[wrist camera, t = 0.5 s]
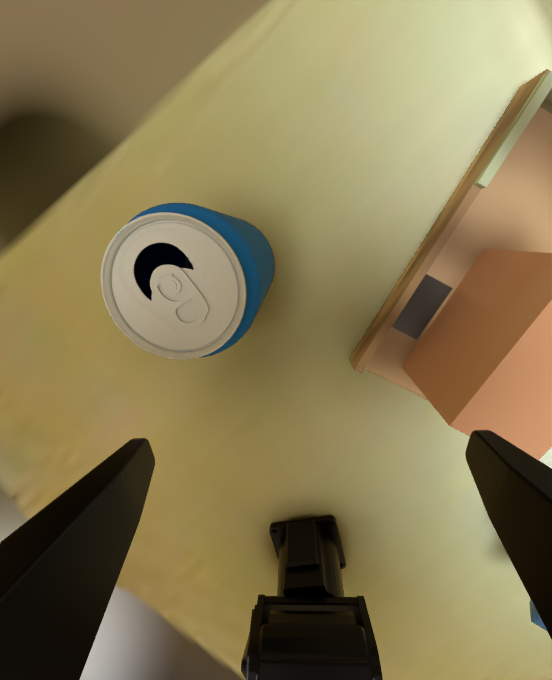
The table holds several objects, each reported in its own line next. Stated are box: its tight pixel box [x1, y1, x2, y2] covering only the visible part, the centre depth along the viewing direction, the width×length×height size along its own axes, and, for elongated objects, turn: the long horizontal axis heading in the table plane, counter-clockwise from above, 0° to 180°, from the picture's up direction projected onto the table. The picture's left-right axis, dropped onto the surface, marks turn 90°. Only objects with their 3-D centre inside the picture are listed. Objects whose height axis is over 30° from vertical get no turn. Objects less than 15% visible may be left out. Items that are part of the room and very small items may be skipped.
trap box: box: [350, 69, 552, 400], centre depth 21 cm, size 20×13×4 cm, turn 154°
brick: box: [401, 249, 552, 460], centre depth 20 cm, size 10×6×8 cm, turn 153°
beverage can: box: [101, 203, 274, 360], centre depth 18 cm, size 6×6×12 cm
